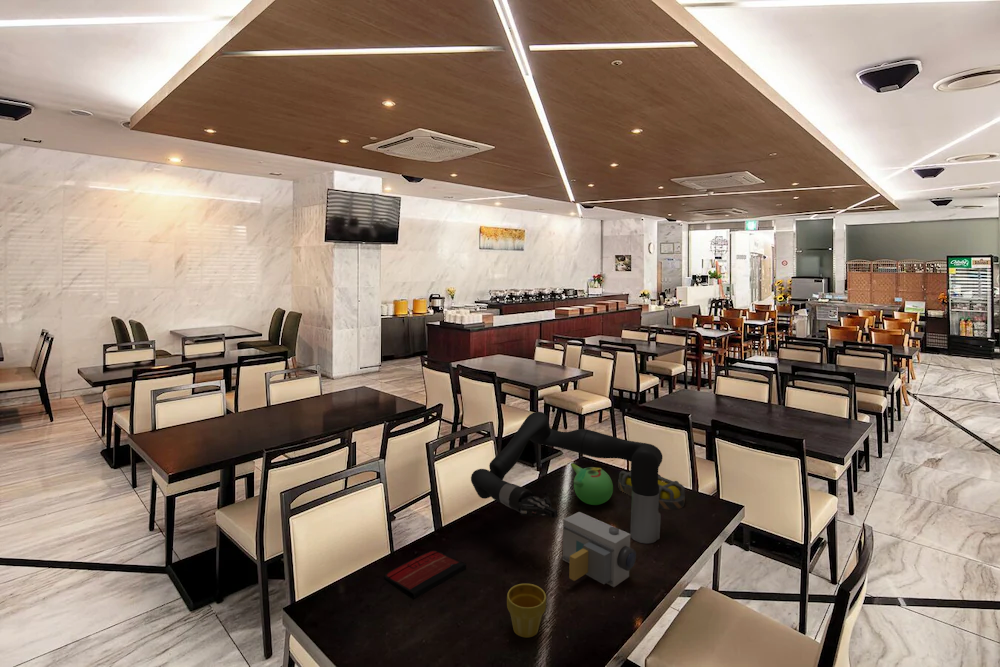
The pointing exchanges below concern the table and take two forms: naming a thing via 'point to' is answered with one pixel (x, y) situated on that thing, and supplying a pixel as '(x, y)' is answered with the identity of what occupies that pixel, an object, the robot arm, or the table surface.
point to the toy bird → (592, 485)
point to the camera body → (599, 543)
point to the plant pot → (526, 608)
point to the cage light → (667, 492)
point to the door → (591, 563)
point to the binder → (424, 572)
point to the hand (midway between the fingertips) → (555, 514)
